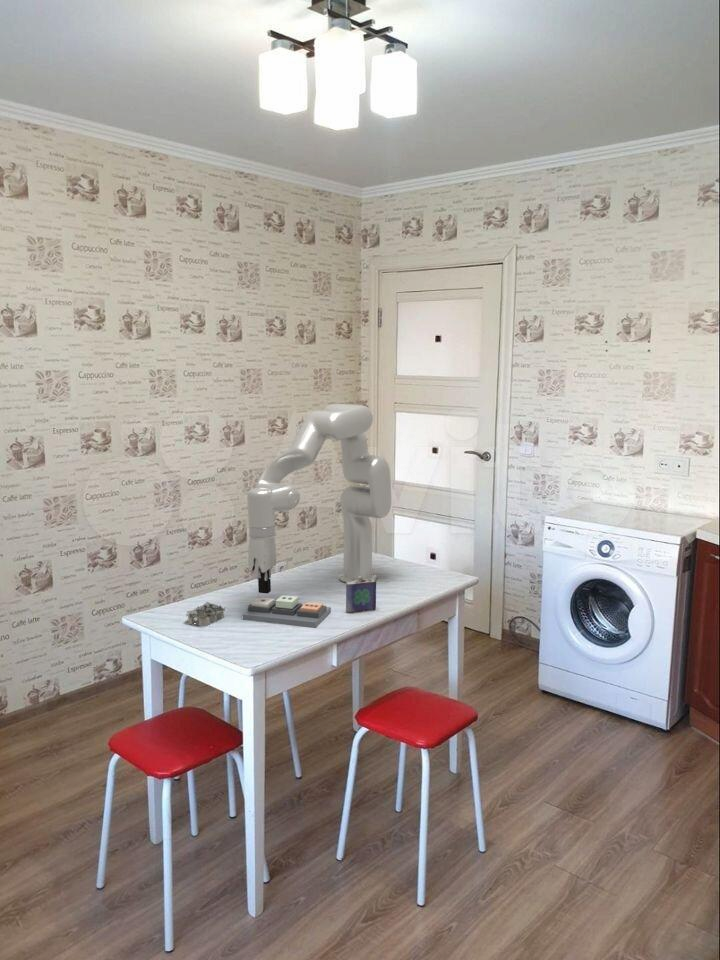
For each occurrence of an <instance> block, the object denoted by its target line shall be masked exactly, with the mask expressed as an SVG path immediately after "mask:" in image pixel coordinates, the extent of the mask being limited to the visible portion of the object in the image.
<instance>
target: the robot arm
mask: <svg viewBox="0 0 720 960" xmlns="http://www.w3.org/2000/svg"><path fill="white" fill-rule="evenodd" d="M373 420H374V415H373V413H372V411H371V409H370V408H369V407H368V406H365V405H362V404H349V403H347V404H346V403H330V404H328V405H326V406H325V407H324V409H323V410H313V411H310V412H309V413H308V414H307V415H306V416H305V418H304V420H303V421H302V423H301V425H300V427H299V429H298V430H297V433H296V435H295V436H294V439H293V440H292V442H291V444H290V446H289V448H288V449H287V450H286V451H285V452H283V453H281V454H280V455H278V456H277V457H276V458H275V459H274V460H272V461H271V462H270V463H269V464H268V465H267V466H266V468H264V470H263V472H262V473H261V475H260V477H259V478H258V481H257V483H256V485H255V488H251V489H249V490H248V492H247V494H246V495H247V519H248V522H247V523H248V538H249V542H248V552H247V554H248V559H247V560H248V561H247V564H248V567H247V568H248V571H249V572H250V573H253V572H254V574H253V575H254V577H253V578H256V580H257V584H258V586H257V588H258V593H259V594H266V595H267V594H268V595H269V594H270V593H271V591H272V586H271V584H272V583H271V579H272V570H273V568H274V566H275V565H276V562H277V546H276V538H275V537H276V516H275V514H276V512H287V511H290V510H294V509H295V508H296V507H297V506H298V504H299V503H300V501H301V494H300V492H299V490H298V489H297V488H296V487H295V486H293V485H290V484H285V483H281V482H282V481H283V480H284V479H285V478H286V477H287V476H288V475H290V474H291V473H294V472H297V471H299V470H301V469H305V468H306V467H309V466H311V465H313V464H314V463H315V461H316V459H317V457H318V455H319V453H320V451H321V450H322V447H323V445H324V444H325V441H326V440H332V441H333V440H335V441H340V448H341V460H342V461H341V463H342V471H343V477H344V478H345V480H346V481H348V482H351V483H357V484H363V485H364V486H363V485H349V486H346V487H345V488H344V489H343V490H342V491H341V495H340V499H339V501H340V507H341V513H342V514H341V515H342V521H343V572H341V573H339V575H338V580H340V581H341V582H343V583H345V584H346V583H348V582H353V581H358V579H359V575H362V578H363V579H368V580H369V579H371V580H372V579H373V580H375V581H376V580H377V574H376V573H375V572H373V525H372V522H371V519H370V518H373V519H382V518H385V517H386V516H387V515H389V513H390V511H391V508H392V485H391V484H392V481H391V471H390V470H391V469H390V466H389V463H388V461H387V460H386V459H385V458H384V457H382V456H379V455H374V454H373V455H372V454H370V453H369V448H368V440H367V435H366V432H368V431H369V429H371V426H372V425H373ZM365 485H368V486H365Z"/></svg>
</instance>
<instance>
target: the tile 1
mask: <svg viewBox="0 0 720 960" xmlns="http://www.w3.org/2000/svg"><path fill="white" fill-rule="evenodd" d="M275 601H276V600H275V598H270V597H269V598H268V597H257V598H256V599H255V600H253V601H252V602H251V603H252V606H258V607H270V606H271V605H272V604H273V603H275Z"/></svg>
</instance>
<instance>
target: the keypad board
mask: <svg viewBox="0 0 720 960" xmlns="http://www.w3.org/2000/svg"><path fill="white" fill-rule="evenodd" d="M303 605H304V604H303V603H300V602H298V604H297V605H296V606H295V607H294V608H293V609H288V608H278V607H276V600H275V603H273V604H272V605H271V606H270V607H258V606H252V602H251V603H250V604H249V605H247V610H246V611H245V612H244V613H243V614H242V620H243V621H252V622H261V623H270V624H279V625H287V626H288V625H289V626H298V627H307V628H315V629H316V628H317V627H318V626H319V625H320V624H321V623H322V622H323V621H324V620H325V619H326V618H327V617H328V616H329V615H330V614H331V612H332V608H331V607H329V606H327V605H323V608H322V609H321V610H320V611H319V612H318V613H316V612H306V611H300V608H301V607H302V606H303Z"/></svg>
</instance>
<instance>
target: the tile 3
mask: <svg viewBox="0 0 720 960" xmlns="http://www.w3.org/2000/svg"><path fill="white" fill-rule="evenodd" d="M302 605H303V606H302V607H301V608H300V611H306V612H316V613H318V612H319V611H320V610H321V609H322V608H323V606H324V604H323V603H318V602H317V603H316V602H305V603H303V604H302Z"/></svg>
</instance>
